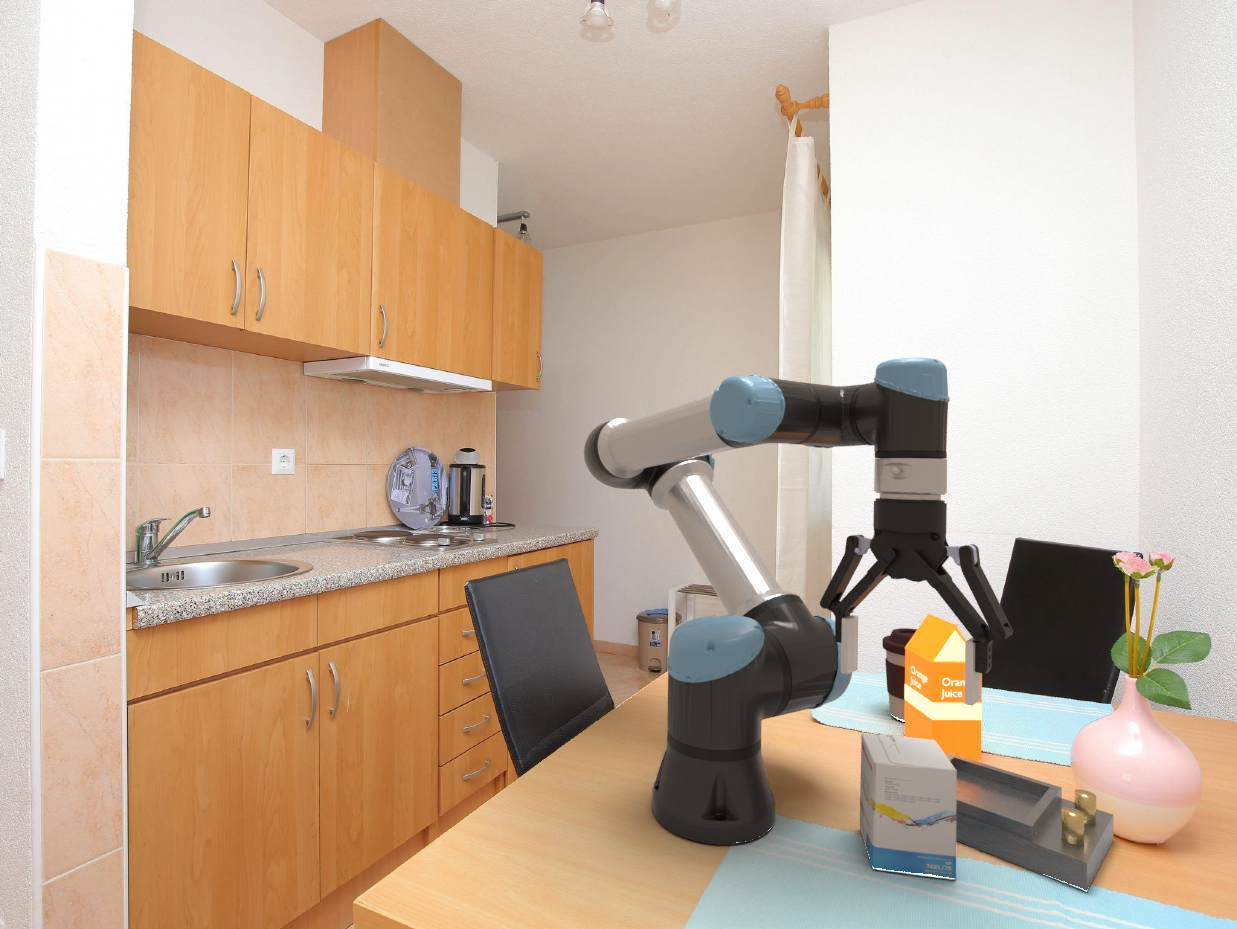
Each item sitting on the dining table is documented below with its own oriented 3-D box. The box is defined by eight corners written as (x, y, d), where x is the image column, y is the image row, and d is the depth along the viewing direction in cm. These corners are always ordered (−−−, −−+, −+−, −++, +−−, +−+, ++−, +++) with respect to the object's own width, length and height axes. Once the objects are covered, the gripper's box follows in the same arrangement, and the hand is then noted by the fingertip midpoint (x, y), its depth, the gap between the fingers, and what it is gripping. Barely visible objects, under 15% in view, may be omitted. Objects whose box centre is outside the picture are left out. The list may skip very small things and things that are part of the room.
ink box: (957, 882, 67) (959, 770, 67) (871, 871, 69) (872, 761, 69) (934, 837, 76) (935, 737, 76) (858, 828, 77) (859, 730, 77)
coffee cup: (873, 719, 112) (874, 632, 112) (892, 704, 120) (893, 623, 120) (935, 734, 106) (935, 643, 106) (950, 717, 113) (951, 632, 114)
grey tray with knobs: (891, 815, 80) (892, 766, 80) (934, 779, 90) (935, 736, 90) (1086, 892, 66) (1087, 833, 66) (1113, 840, 76) (1113, 788, 76)
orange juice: (950, 736, 105) (951, 613, 106) (982, 760, 97) (983, 626, 97) (902, 736, 105) (904, 613, 105) (930, 760, 96) (932, 625, 97)
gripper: (793, 493, 79) (790, 666, 79) (1027, 503, 61) (1024, 727, 61) (823, 492, 84) (821, 655, 84) (1047, 501, 66) (1045, 708, 66)
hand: (906, 686), depth 73 cm, fingers open, 13 cm apart
